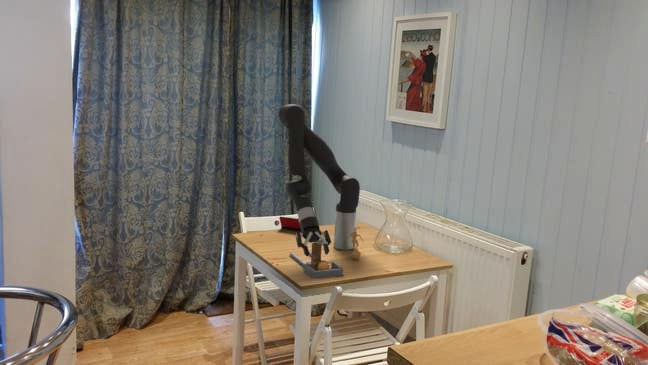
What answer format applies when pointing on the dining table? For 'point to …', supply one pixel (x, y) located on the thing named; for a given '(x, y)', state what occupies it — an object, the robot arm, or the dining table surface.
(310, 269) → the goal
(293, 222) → the red slanted panel
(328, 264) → the rails
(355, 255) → the figurine
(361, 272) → the dining table surface
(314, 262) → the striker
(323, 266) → the ball
